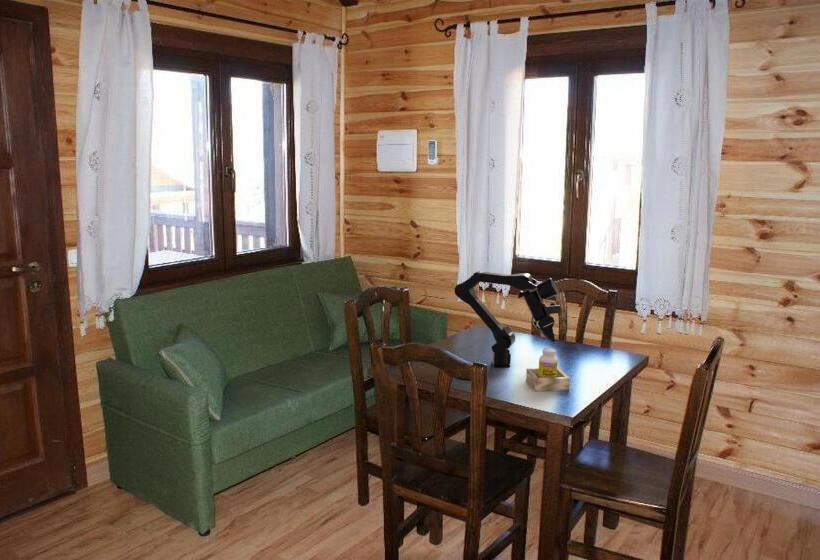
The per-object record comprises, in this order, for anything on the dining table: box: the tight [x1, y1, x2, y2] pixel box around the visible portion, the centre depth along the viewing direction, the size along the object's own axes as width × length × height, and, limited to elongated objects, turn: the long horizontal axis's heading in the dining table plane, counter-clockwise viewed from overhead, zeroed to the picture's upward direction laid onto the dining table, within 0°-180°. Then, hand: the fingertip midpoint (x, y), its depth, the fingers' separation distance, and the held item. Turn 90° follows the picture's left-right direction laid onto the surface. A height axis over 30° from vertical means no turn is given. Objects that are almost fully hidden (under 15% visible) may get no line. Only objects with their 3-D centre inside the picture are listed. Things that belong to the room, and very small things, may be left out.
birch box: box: [525, 367, 571, 392], centre depth 256 cm, size 12×12×5 cm
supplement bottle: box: [538, 347, 559, 378], centre depth 256 cm, size 7×7×13 cm
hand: (552, 340), depth 271 cm, fingers open, 9 cm apart
